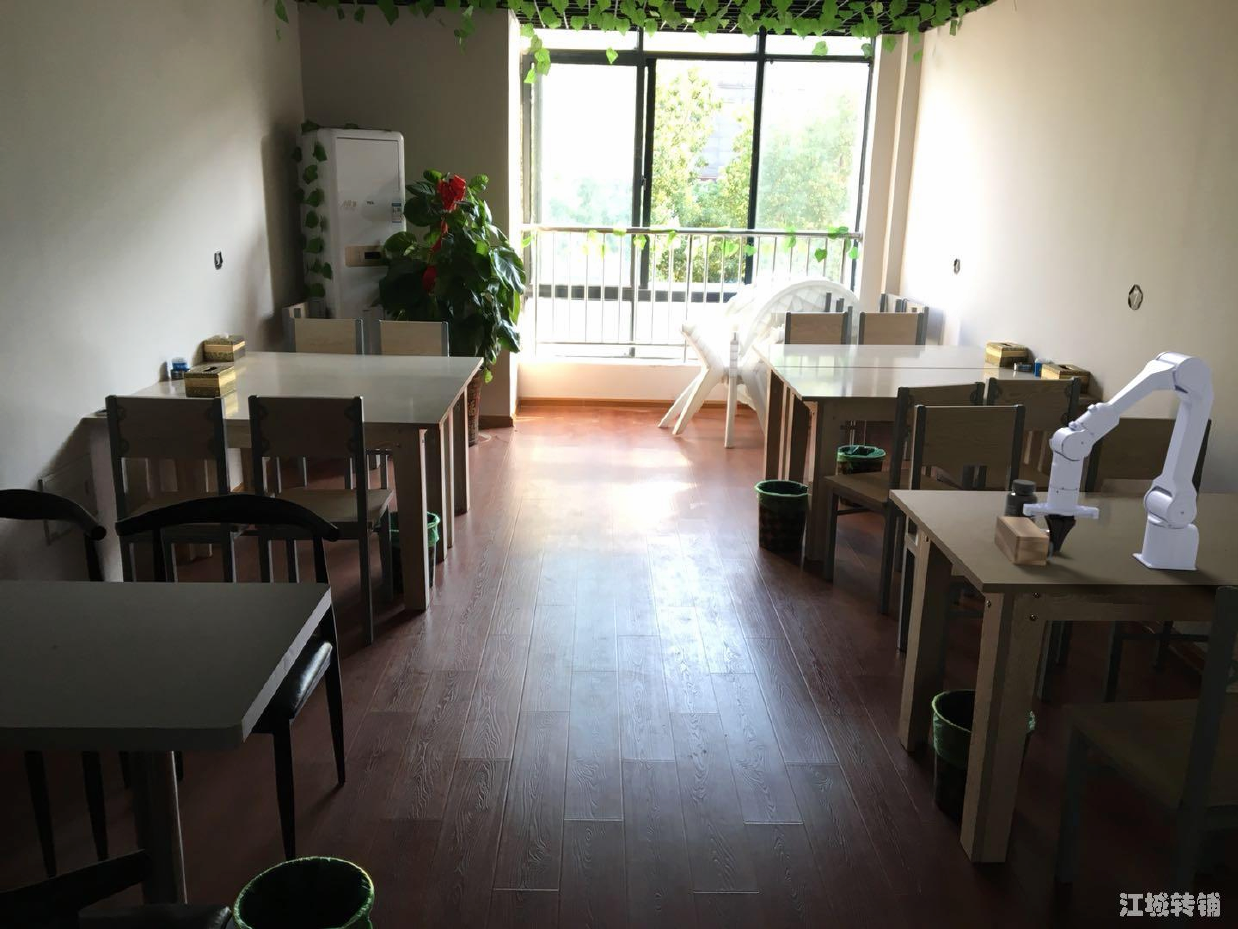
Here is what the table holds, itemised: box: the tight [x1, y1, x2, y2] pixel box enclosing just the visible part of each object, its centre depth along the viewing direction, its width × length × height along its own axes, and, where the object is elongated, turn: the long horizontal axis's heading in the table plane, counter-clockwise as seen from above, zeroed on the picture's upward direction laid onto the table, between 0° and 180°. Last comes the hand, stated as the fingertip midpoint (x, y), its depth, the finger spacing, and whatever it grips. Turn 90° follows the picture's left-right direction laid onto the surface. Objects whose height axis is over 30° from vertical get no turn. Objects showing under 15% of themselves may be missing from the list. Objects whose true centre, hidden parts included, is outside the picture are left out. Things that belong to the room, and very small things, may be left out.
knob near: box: [1047, 536, 1054, 559], centre depth 206 cm, size 7×5×5 cm
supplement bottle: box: [1003, 479, 1039, 525], centre depth 224 cm, size 7×7×12 cm
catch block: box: [993, 515, 1049, 566], centre depth 210 cm, size 6×14×6 cm, turn 175°
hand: (1055, 549), depth 206 cm, fingers closed
